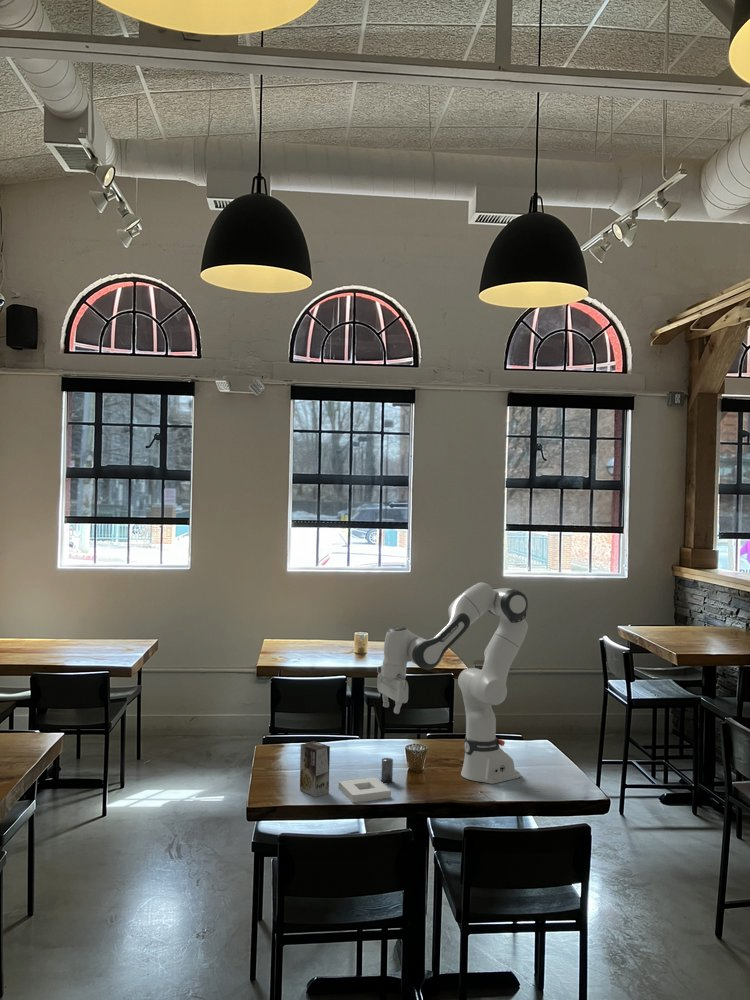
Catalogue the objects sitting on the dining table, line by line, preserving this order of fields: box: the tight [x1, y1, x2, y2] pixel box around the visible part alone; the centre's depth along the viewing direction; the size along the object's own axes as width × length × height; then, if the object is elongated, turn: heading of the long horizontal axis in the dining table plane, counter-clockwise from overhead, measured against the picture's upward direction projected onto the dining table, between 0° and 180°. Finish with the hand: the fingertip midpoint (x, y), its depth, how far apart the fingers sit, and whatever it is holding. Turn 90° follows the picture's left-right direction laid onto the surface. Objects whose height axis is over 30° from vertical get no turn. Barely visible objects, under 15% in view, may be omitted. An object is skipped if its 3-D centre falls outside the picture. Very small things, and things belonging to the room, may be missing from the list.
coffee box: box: [299, 740, 331, 798], centre depth 260 cm, size 9×6×16 cm
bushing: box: [380, 757, 394, 785], centre depth 272 cm, size 4×4×8 cm
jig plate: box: [338, 776, 392, 803], centre depth 260 cm, size 14×14×2 cm
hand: (391, 710), depth 272 cm, fingers open, 8 cm apart
